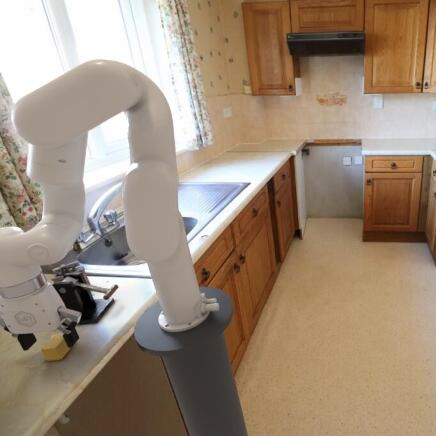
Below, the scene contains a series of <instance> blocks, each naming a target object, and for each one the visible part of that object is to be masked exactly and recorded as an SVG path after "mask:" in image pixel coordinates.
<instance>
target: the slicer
mask: <svg viewBox="0 0 436 436" xmlns="http://www.w3.org/2000/svg"><path fill="white" fill-rule="evenodd" d="M63 277H64V279H65V278H66V277H71V278H76V279H79V283H83V284H87V282H86V280H85V278H84V275H83V273H82V272H78V273H65V274H64V275H63ZM52 285H53V287H54V289H55V290H56V291H57V293H58V294H59V296H60V298H61V299H62V301H63V303H64V305H65V307H66V308H67V309H70V310H74V311H77V312H80V313H81V318H80V322H79V323H78V324H77V325H76V326H78V325H79V326H80V325H90V324H91V325H92V324H98V322H99V321H100V320H101V319H102V318H103V316H104V315H105V314H106V313H107V311H108V310H109V309H110V308H111V306H112V305H113V304H114V303H115V298H114V297H110V298H109V299H108V300H104V299H103V298H94V296H93V293H92V291H89V290H84V289H79V288H75V285H74V283H73V281H67V282H55V283H54V282H53V283H52ZM69 319H70V318H69ZM60 321H61V320H60ZM62 325H63V326H65V327H68V326H69V325H68V324H66V323H64V322H63V323H62Z"/></svg>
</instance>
